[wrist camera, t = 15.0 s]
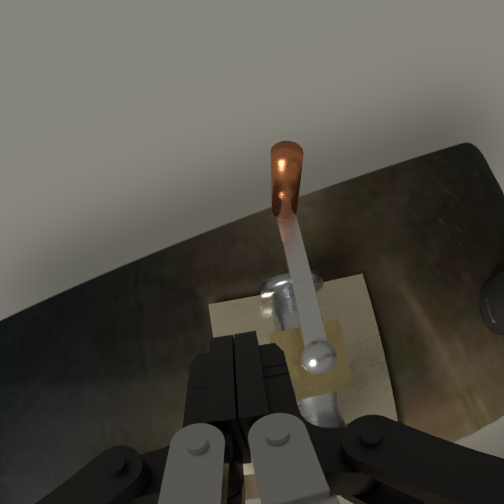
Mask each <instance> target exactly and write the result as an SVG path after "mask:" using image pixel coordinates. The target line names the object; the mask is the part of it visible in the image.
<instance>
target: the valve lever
mask: <svg viewBox="0 0 504 504" xmlns="http://www.w3.org/2000/svg"><path fill="white" fill-rule="evenodd" d="M302 161H303V150H302V148H301V147H300V146H299V145H298V144H296V143H294V142H291V141H282V142H279V143H277V144H275V145H274V146H273V147H272V149H271V182H272V183H271V186H272V212H273V214H274V215H275V217H276V222H277V226H278V230H279V234H280V239H281V243H282V247H283V252H284V256H285V260H286V265H287V269H288V274H289V278H290V283H291V287H292V292H293V296H294V301H295V305H296V310H297V315H298V319H299V324H300V329H301V334H302V339H303V343H304V349H303V351H302V353H301V364H302V366H303V368H304V369H305V370H306V371H307V372H309V373H311V374H323V373H326V372H328V371H330V370H331V369H332V368H333V366H334V365H335V363H336V359H337V354H336V350H335V348H334V347H333V345H332V344H330V343H329V342H327V340H326V335H325V331H324V326H323V322H322V317H321V313H320V309H319V304H318V300H317V296H316V292H315V288H314V284H313V279H312V275H311V271H310V267H309V263H308V260H307V256H306V252H305V248H304V244H303V240H302V236H301V233H300V229H299V225H298V222H297V218H296V212H297V205H298V197H299V188H300V180H301V171H302Z"/></svg>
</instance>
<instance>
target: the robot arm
mask: <svg viewBox="0 0 504 504" xmlns="http://www.w3.org/2000/svg"><path fill="white" fill-rule="evenodd" d="M480 309H481V313H482V317H483V319H484V321H485V323H486V325H487V326H488V328H489V329H490V330H491V331H492V332H494V333H496V334H501V335H502V334H504V271H503V272H502V273H500V274H499V275H497V276H495V277H494V278H492V279H491V280H489V281H488V282H487V283H486V284H485V285H484V287H483V289H482V292H481V296H480ZM187 388H188V390H187V395H186V404H185V412H184V422H183V428H182V429H181V430H179V431H178V432H177V433H176V434H175V435H174V437H173V438H172V440H171V443H170V445H169V446H167V447H165V448H162V449H159V450H156V451H152V452H149V453H145V454H141V455H139V453H138V452H137V451H136V450H134V449H133V448H130V447H127V446H114V447H111V448H109V449H107V450H105V451H104V452H102V453H101V454H100V455H99V456H97V457H96V458H95V459H94V460H92V461H91V462H90V463H89V464H87V465H86V466H85V467H83V468H82V469H81V470H80V471H78V472H77V473H76V474H74V475H73V476H72V477H71V478H69V479H68V480H67V481H65V482H64V483H63V484H61V485H60V486H59V487H57V488H56V489H55V490H53V491H52V492H51V493H49V494H48V495H46V496H45V497H44V498H42V499H41V500H40V501H38V502H37V503H35V504H245V482H244V469H243V464H247V463H252V462H253V467H254V471H255V476H256V481H257V486H258V491H259V495H260V500H261V504H340V502H339V500H338V498H337V497H336V495H341V496H342V497H343V498H344V499H346V500H348V501H350V502H352V503H354V504H504V459H503V458H500V457H496V456H493V455H489V454H486V453H482V452H479V451H476V450H473V449H470V448H467V447H464V446H461V445H458V444H455V443H452V442H449V441H446V440H444V439H441V438H438V437H435V436H433V435H430V434H427V433H425V432H422V431H419V430H417V429H414V428H412V427H409V426H407V425H404V424H402V423H399V422H397V421H394V420H392V419H390V418H387V417H385V416H381V415H373V414H372V415H365V416H361V417H358V418H356V419H354V420H353V421H351V422H350V423H349V424H348V425H347V426H346V428H327V427H320V426H316V425H313V424H311V423H310V422H308V421H307V420H305V419H304V417H303V416H302V415H301V413H300V411H299V408H298V404H297V400H296V396H295V392H294V389H293V385H292V381H291V377H290V374H289V370H288V366H287V362H286V358H285V354H284V351H283V350H282V349H281V348H280V347H279V346H278V345H277V344H276V343H270V344H264V345H259V343H258V338H257V333H256V331H250V332H244V333H238V334H234V336H233V335H227V336H220V337H214V338H211V339H210V353H208V354H201V355H197V356H196V358H195V359H194V361H193V362H192V364H191V365H190V370H189V380H188V386H187ZM251 457H252V461H251Z"/></svg>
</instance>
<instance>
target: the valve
mask: <svg viewBox="0 0 504 504" xmlns="http://www.w3.org/2000/svg"><path fill="white" fill-rule="evenodd" d="M310 271H311V275H312V279H313V284H314V288H315V292H316V296H317V300H318V304H319V309H320V313H321V317H322V322H323V326H324V331H325V335H326V340H327V342H329V343H330V344H332V345H333V347H334V348H335V350H336V354H337V359H336V363H335V365H334V366H333V368H332V369H331V370H330V371H328V372H326V373H323V374H311V373H309V372H307V371H306V370H305V369H304V368H303V366H302V364H301V353H302V351H303V349H304V343H303V339H302V334H301V329H300V324H299V319H298V315H297V310H296V305H295V301H294V296H293V292H292V287H291V283H290V278H289V274H288V273H284V274H281V275H278V276H275V277H273V278H271V279H269V280H267V281H265V282H264V283H262V284H261V286H260V294H261V295H258V296H252V297H247V298H242V299H236V300H231V301H225V302H219V303H214V304H209V311H210V318H211V325H212V331H213V338H214V337H220V336H227V335H233V336H234V334H238V333H244V332H250V331H256V333H257V338H258V343H259V345H264V344H270V343H276V344H277V345H278V346H279V347H280V348H281V349H282V350H283V351H284V354H285V358H286V362H287V366H288V370H289V374H290V377H291V381H292V385H293V389H294V392H295V396H296V400H297V404H298V408H299V411H300V413H301V415H302V416H303V417H304V419H305V420H307V421H308V422H310V423H311V424H313V425H316V426H320V427H327V428H346V426H347V425H348V424H349V423H350V422H351V421H353V420H354V419H356V418H358V417H361V416H365V415H372V414H373V415H381V416H385V417H387V418H390V419H392V420H394V421H397V422H398V419H397V413H396V408H395V403H394V397H393V392H392V387H391V382H390V378H389V373H388V368H387V364H386V360H385V355H384V351H383V347H382V343H381V339H380V335H379V331H378V327H377V323H376V319H375V316H374V312H373V308H372V305H371V301H370V298H369V294H368V291H367V287H366V284H365V281H364V277H363V274H358V275H354V276H350V277H345V278H341V279H336V280H331V281H327V282H323V280H322V277H321V273H320V272H318V271H315V270H310ZM251 461H252V457H251ZM243 469H244V475H249V474H255V471H254V467H253V462H252V463H247V464H243Z"/></svg>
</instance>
